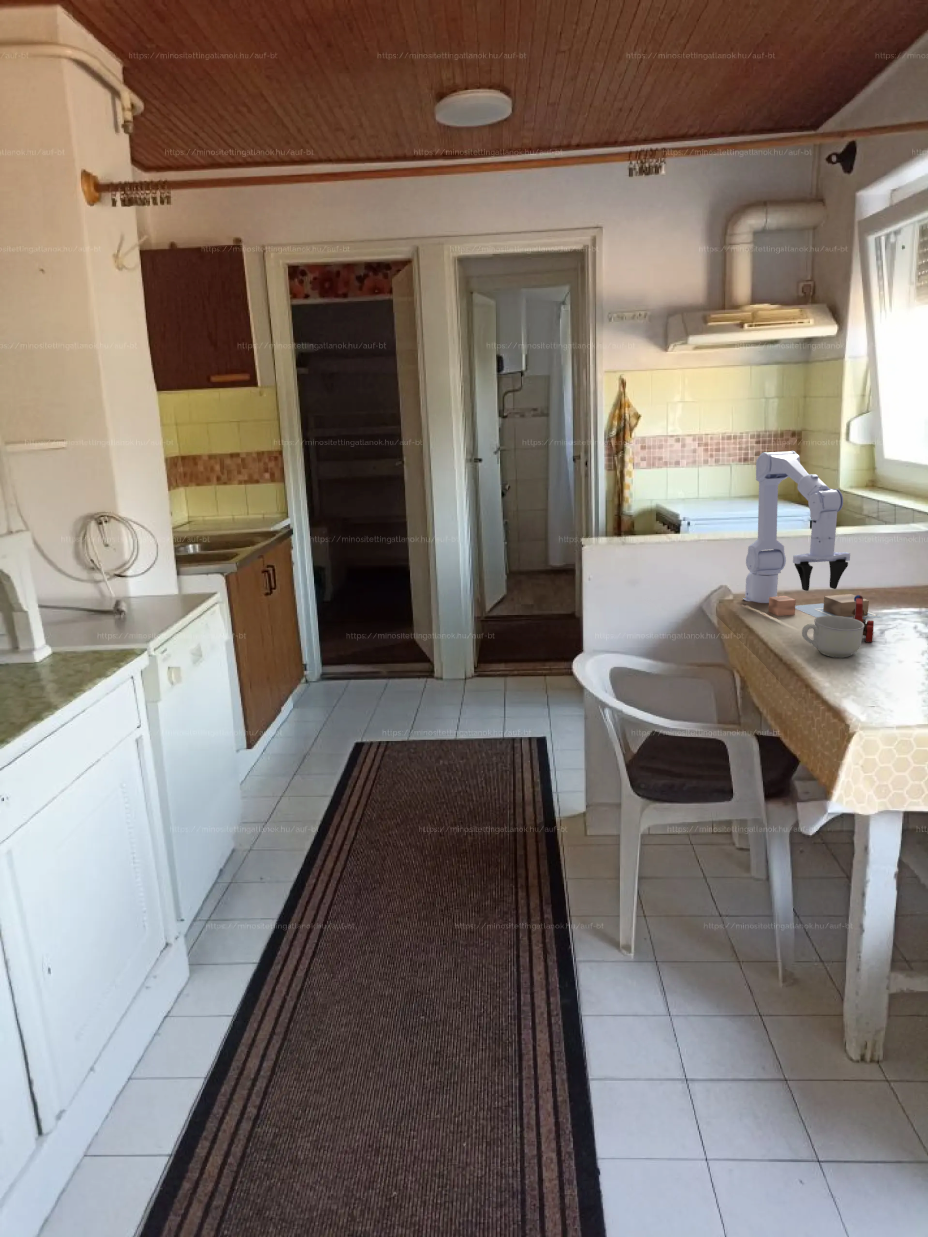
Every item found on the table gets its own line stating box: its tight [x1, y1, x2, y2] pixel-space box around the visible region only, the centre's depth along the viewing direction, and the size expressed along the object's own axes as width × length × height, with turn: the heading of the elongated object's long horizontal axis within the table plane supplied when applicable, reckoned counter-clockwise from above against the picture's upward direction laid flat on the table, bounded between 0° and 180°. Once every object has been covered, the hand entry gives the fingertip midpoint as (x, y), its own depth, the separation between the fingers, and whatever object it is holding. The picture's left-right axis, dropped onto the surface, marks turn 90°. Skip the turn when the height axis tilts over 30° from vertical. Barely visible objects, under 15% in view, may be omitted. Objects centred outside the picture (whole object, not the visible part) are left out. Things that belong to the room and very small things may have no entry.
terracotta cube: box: [768, 595, 797, 620], centre depth 232 cm, size 5×5×5 cm
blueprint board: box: [795, 602, 881, 620], centre depth 231 cm, size 18×16×1 cm
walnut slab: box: [823, 593, 870, 617], centre depth 229 cm, size 8×8×4 cm
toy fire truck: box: [852, 594, 875, 643], centre depth 208 cm, size 7×12×10 cm, turn 154°
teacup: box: [801, 616, 864, 659], centre depth 197 cm, size 14×11×8 cm
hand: (819, 589), depth 218 cm, fingers open, 7 cm apart
